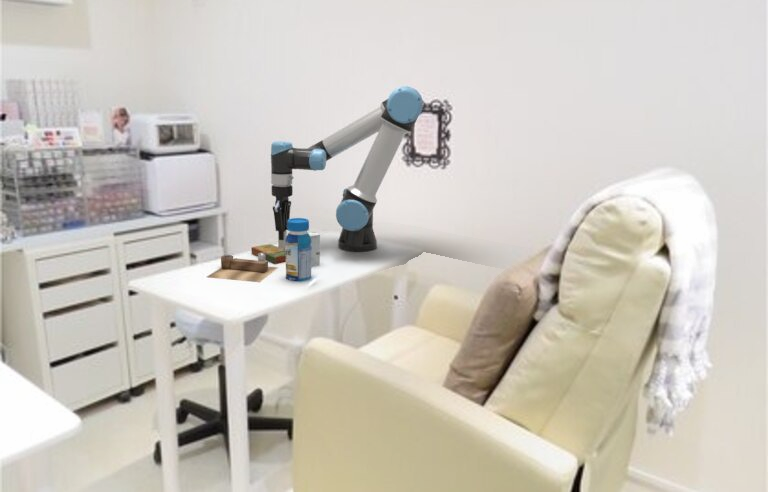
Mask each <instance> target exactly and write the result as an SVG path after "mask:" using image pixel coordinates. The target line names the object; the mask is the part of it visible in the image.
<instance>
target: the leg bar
mask: <svg viewBox="0 0 768 492" xmlns="http://www.w3.org/2000/svg"><path fill="white" fill-rule="evenodd" d="M220 266H221V267H220V268H224V269H229V268H231V269H239V270H249V271H258V272H265V271H267V270H268V267H269V262H268V261H258V260H256V259H248V258H247V259H246V258H237V257H235V258H234V255H230V254H226V253H225V254H224V255H222V256H220Z"/></svg>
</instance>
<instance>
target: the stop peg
mask: <svg viewBox="0 0 768 492" xmlns="http://www.w3.org/2000/svg"><path fill="white" fill-rule="evenodd" d="M257 259H258V260H257V261H266V258H265V253H258V257H257Z"/></svg>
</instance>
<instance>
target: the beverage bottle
mask: <svg viewBox="0 0 768 492" xmlns="http://www.w3.org/2000/svg"><path fill="white" fill-rule="evenodd" d="M287 229H288V230H287V231H288V232H287V237H286V240H285V243H286V247H285V248H284V250H285V253H286V262H285V279H286V280H287V281H290V282H306V281H309V280H311V279H312V277H313V276H312V267H311V252H312V247H311V245H310V244H311V238H310V236H309V234H308V233H309V230H310V221H309V219H308V218H302V217H294V218H293V217H291V218H290V219H289V220H288V221H287Z"/></svg>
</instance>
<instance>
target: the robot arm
mask: <svg viewBox="0 0 768 492" xmlns="http://www.w3.org/2000/svg"><path fill="white" fill-rule="evenodd" d="M423 101H424V100H423V98H422V95H421V94H420V92H419V91H418V90H417V89H415V88H414V87H411V86H400V87H398V88H396V89H394V90H393V91H392V92H391V93H389V96H388V98H387V99H385V100H384V101H382V102H381V103H380V106H379V107H377V108H375V109H374V110H372V111H370V112H368V113H367V114H365V115H363V116H362V117H360V118H358V119H356V120H355V121H352V123H350V124H348V125H346V126H344V127H343V128H341V129H339V130H338V131H336V132H333V133H332V134H331V135H329V136H326V137H325V138H324V139H322V140H320V141H318V142H317V143H315V144H312V145H311V146H309V147H307V148H298V147H297V148H296V147H293V143H292V142H290V141H280V140H279V141H273V142H272V143H271V144H270V145H271V148H270V163H271V166H270V167H271V168H270V169H271V172H270V173H271V177H270V178H271V180H270V183H271V196H273V197H275V202H274V203H275V204H274V205H273V206H272V211H273V217H274V227H275V231H276V232H278V235H277V236H278V237H277V238H278V241H277V242H278V245H277V247H279V248H281V249H285V247H286V243H285V240H286V237H287V235H288V232H287V231H288V229H287V221H288V220H289V219H291V218H290V215H291V208H292V201H291V200H289V198H290V197H292V196H293V195H294V194H293V191H294V190H293V179H294V178H295V177H294V176H293V170H303V171H315V172H316V171H323V170H325V169H326V166H327V161H329V160H331V159H332V158H335V157H337V155H339V154H341V153H343V152H345V151H346V150H348V149H350V148H352V147H354V146H355V145H357V144H358V143H361V142H363V141H365V140H367V139H368V138H371V137H372V136H373V135H375V134H376V133H377V135H376V137H375V138H374V141H373V144H372V145H371V147H370V150H369V151H368V153H367V156H366V158H365V160H364V162H363V164H362V167H361V169H360V171H359V173H358V175H357V177H356V179H355V181H354V183H353V185H350V186H348V187H346V188H345V189H343V191H342V192H343V193H342V199H341V202H340V203H339V204H338V205H337V207H336V210H335V217H336V221H337V223H338V224H339V226H341V228H342V229H341V232H340V235H339V238H338V242H337V243H338V244H337V246H338V249H341V250H344V251H348V252H368V251H374V250H375V249H377V247H378V242H377V241H378V240H377V237H376V234H375V231H374V227H373V225H374V224H373V223H374V208H375V206H376V204H377V203H378V202H377V201H378V200H377V196H376V194H377V192H378V191H379V188H380V187H381V184H382V183H383V180H384V178H385V176H386V174H387V172H388V170H389V168H390V166H391V164H392V161H393V160H394V157H395V156H396V153H397V152H398V150H399V147H400V145H401V143H402V142H403V138H404V137H405V135H408V134H410V133H411V132H412V130H413V128H414V127H415V124H416V122H417V120H418V118H419V117H420V115H421V113H422V110H423V106H424V105H423Z"/></svg>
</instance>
